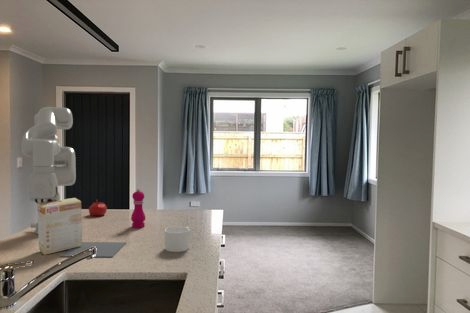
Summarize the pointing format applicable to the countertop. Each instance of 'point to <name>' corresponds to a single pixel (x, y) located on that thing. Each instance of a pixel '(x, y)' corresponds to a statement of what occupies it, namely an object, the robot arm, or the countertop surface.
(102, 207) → the pomegranate
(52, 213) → the coffeecake box
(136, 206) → the pepper mill
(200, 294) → the countertop surface
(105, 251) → the mat
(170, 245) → the mug
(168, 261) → the countertop surface
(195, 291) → the countertop surface
